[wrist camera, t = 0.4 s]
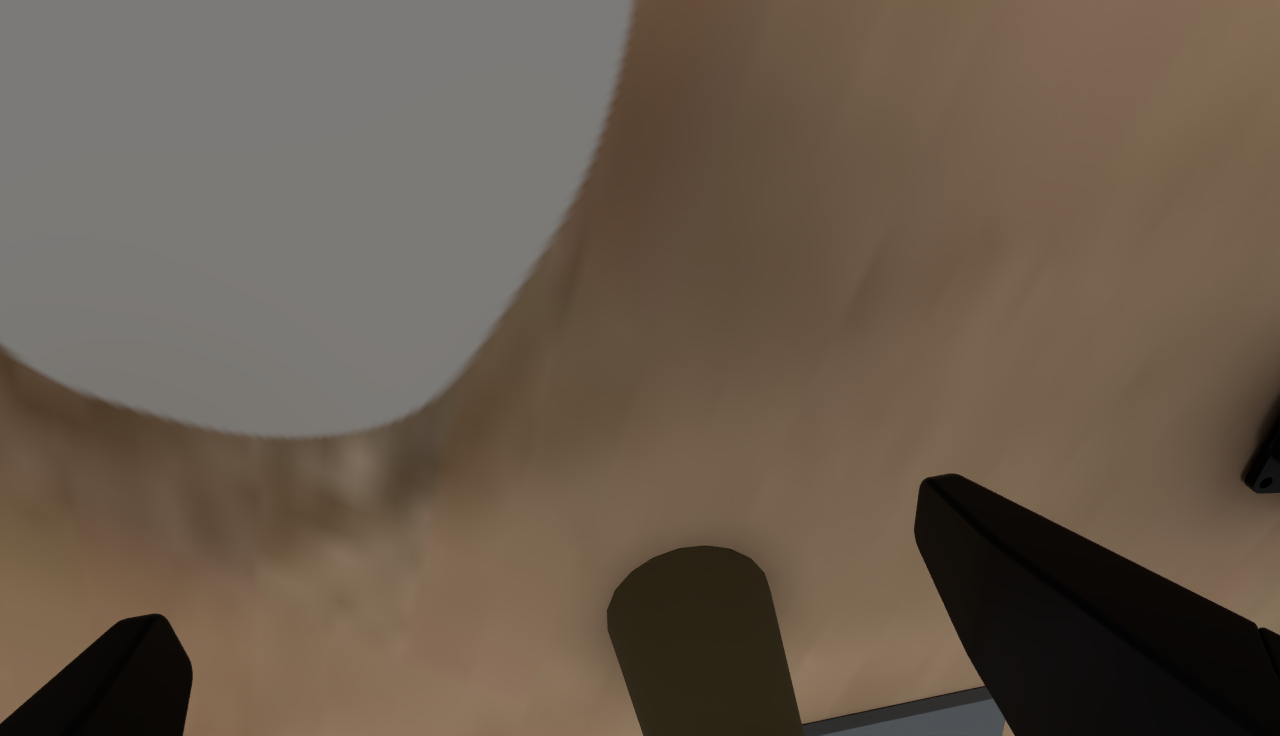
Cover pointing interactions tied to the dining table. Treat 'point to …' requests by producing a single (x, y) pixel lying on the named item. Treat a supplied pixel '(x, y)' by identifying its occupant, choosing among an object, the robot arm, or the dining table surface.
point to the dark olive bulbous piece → (703, 647)
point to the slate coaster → (921, 718)
